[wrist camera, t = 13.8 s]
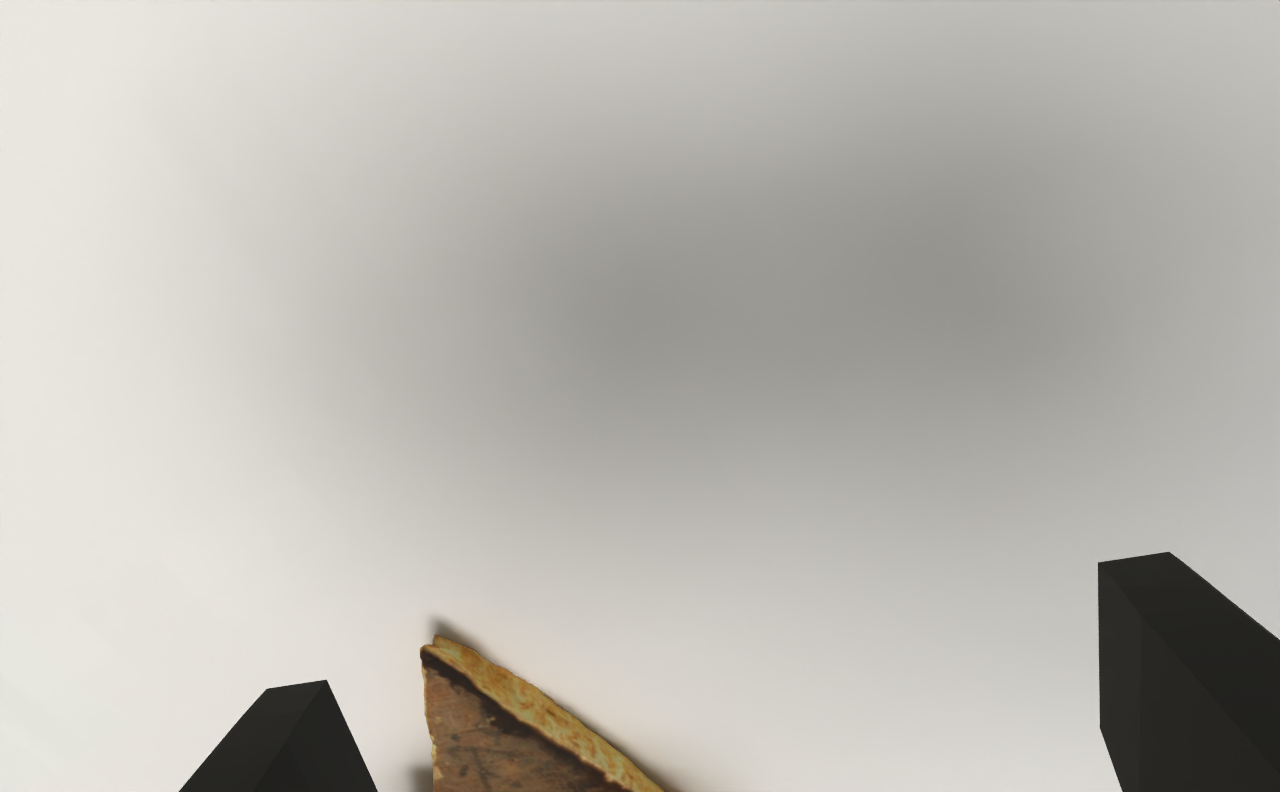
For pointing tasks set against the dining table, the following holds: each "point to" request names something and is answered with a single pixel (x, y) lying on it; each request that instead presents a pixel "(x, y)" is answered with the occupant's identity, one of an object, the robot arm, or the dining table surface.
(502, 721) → the shard
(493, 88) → the dining table surface
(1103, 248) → the dining table surface
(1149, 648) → the robot arm
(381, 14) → the dining table surface
